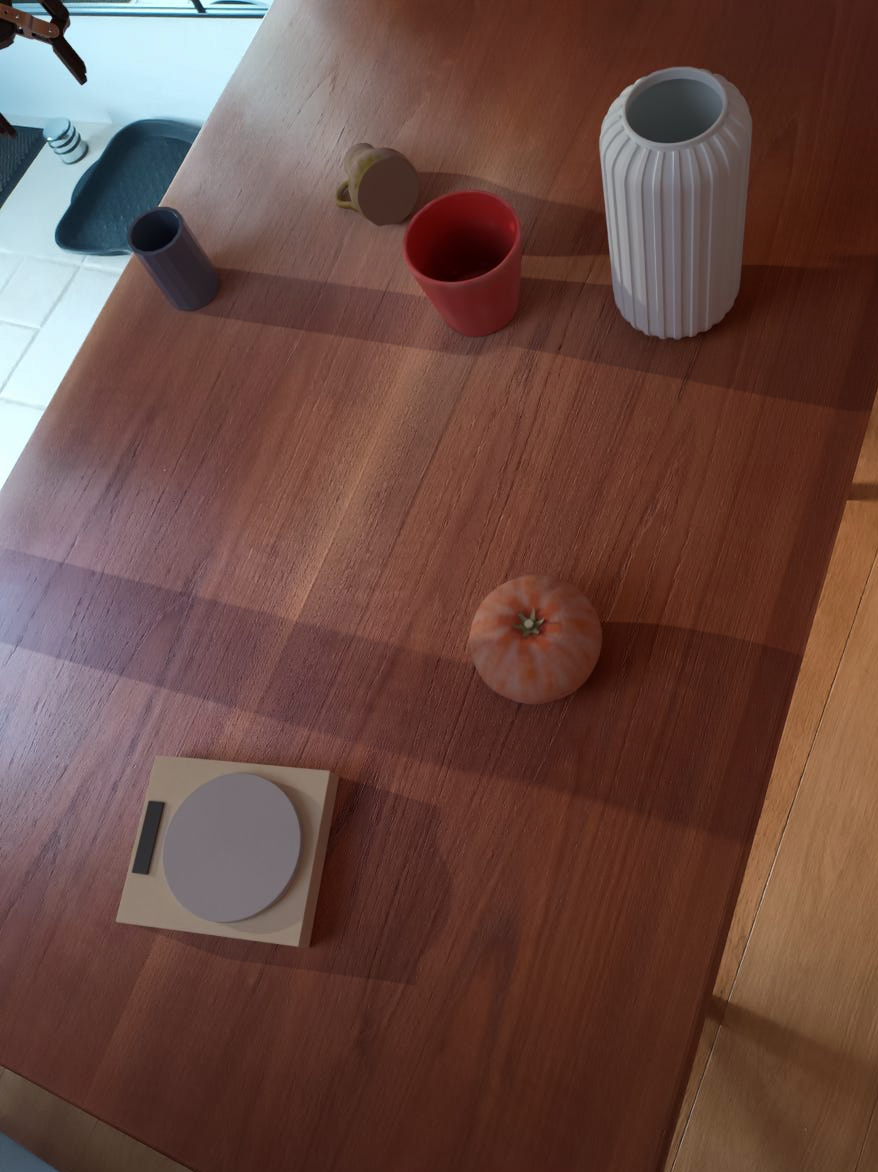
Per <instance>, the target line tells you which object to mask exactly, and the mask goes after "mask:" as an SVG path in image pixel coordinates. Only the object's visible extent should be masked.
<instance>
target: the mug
mask: <svg viewBox="0 0 878 1172" xmlns="http://www.w3.org/2000/svg"><path fill="white" fill-rule="evenodd" d="M342 165H343V171H344V172H345V173H346V175H347V176H348V178H347V179H346V180H344V181H342V182H341V183H340V184H339V185H338V187H337V188H336V190H335V192H334V196H333V201H334V203H335V205H336V206H337V207H338V208H341V209H345V210H352V211H355V212H357V213H358V214H359V215H361V216H362V217H363V218H365V219H366V220H367V221H370V223H373V224H374V225H376V226H378V227H384V226H390V225H397V224H399V223H401V222H402V221H403V220H405V219H406V218H407V217H408V216H409V215H410V214H411V212H412V211H413V210H414V208H415V206H416V203H417V201H418V198H419V193H420V185H421V182H420V177H419V174H418V172H417V169H416V168H415V166H414V164H412V162H411V161H410V160H409V159H408V157H407V156H406V155H404V154H403V153H402V152H400V151H398V150H396V149H394V148H389V147H374V146H373V145H372V144H370V143H369V142H358V143H355V144H353V145H351V146H350V147H349V148H348V149H347V151H346V152H345V154H344V157H343V163H342ZM347 189H348V192H349V193H348V194H349V197H350V200H351V201H343V200H342V196H343V195H344V194H345V192H346V191H347Z"/></svg>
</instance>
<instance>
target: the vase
mask: <svg viewBox="0 0 878 1172" xmlns="http://www.w3.org/2000/svg"><path fill="white" fill-rule="evenodd" d="M752 137H753V120H752V115H751V113H750V107H749V105H748V103H747V101H746V98H745V97H744V96H743V95H742V93H741V92H740V90H739V88H737V86H736V85H735V84H733V83H732V82H731V81H728V80H727V79H726V77H725V76H723V75H721V74H719V73H712V71H711V70H709V69H706V68H702V67H701V68H698V67H693V66H688V65H687V66H671V67H667V68H663V69H660V70H659V69H658V70H656V71H653V72H652V73H651V74H648V75H647V76H645V75H644V76H642V77H640V78H639V79H636V81H635V83H633V84H630V85H629V86H627V87H626V88H624V90H623V91H622V92H621V93H620V94H619V96H618V97H616V98H615V100H614V101H613V102H612V103H611V105H610V106H609V109H608V111H607V113H606V115H605V116H604V118H603V120H602V124H601V126H600V135H599V142H598V144H599V147H598V148H599V159H600V168H601V178H602V179H601V180H602V190H603V198H604V199H603V200H604V208H605V221H606V228H607V229H606V230H607V240H608V250H609V260H610V271H611V282H612V291H613V296H614V302H615V305H616V307H617V309H618V310H619V311H620V314H621V316H622V318H623V319H624V320H625V321H626V322H628V323H630V325H631V327H632V328H633V329H635V330H636V331H639V332H640V331H641V332H643V334H644V335H646V336H648V337H658V339H660V340H667V339H674V340H677V341H678V340H681V339H682V338H684V337H689V338H692V337H697V335H698V333H705V332H707V331H709V330H711V328H712V327H713V325H717V324H719V323H720V322H721V321H722V320H723V319H724V318H725V315H726V314H727V313H729V312H730V311H731V309H732V307H734V304H735V299H736V298H737V297H738V294H739V290H740V286H741V285H740V284H741V275H742V261H743V249H744V237H745V224H746V213H747V212H746V211H747V200H748V190H749V189H748V188H749V187H748V186H749V174H750V163H751V152H752V151H751V150H752Z"/></svg>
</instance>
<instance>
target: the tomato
mask: <svg viewBox="0 0 878 1172" xmlns="http://www.w3.org/2000/svg"><path fill="white" fill-rule="evenodd" d="M469 630H470V631H469V638H468V646H469V653H470V656H471V659H472V662H473V664H474V667H475V670H476V671H477V673H478V674H479V676H480V678H481V679H482V680H483V682H484V683H485V684H486V685H487V686H488V687H489V688H490V689H491V690H492V691H493V692H495V693H497V694H498V695H500V696H502V697H504V698H507V699H509V700H511V701H513V702H517V703H520V704H524V705H525V704H526V705H542V704H546V703H551V702H554V701H558V700H560V699H563V698H566V697H567V696H569V695H571V694H573V693H574V692H576V691H577V690H578V689H579V688H580V687H582V686H583V684H585V682H586V681H587V680H588V679H589V678H590V676H591V674H592V672H593V670H594V669H595V667H596V664H597V663H598V660H599V657H600V655H601V650H602V643H603V631H602V625H601V622H600V619H599V615H598V614H597V612H596V609H595V607H594V606H593V604H592V603H591V602H590V600H589V598H588V597H587V596H586V595H585V594H584V593H583V592H582V591H581V589H579V588H578V587H577V586H575V585H573V584H572V583H570V582H568V581H566V580H563V579H562V578H558V577H555V576H551V575H544V574H526V575H522V576H518V577H515V578H512V579H510V580H508V581H506V582H504V583H502V584H500V585H499V586H497V587H496V588H494V589H493V590H492V591H491V592H489V593H488V594H487V595H486V596H485V597H484V599H483V600H482V602H481V603H480V605H479V606H478V608H477V610H476V612H475V614H474V617H473V619H472V622H471V626H470V629H469Z"/></svg>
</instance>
